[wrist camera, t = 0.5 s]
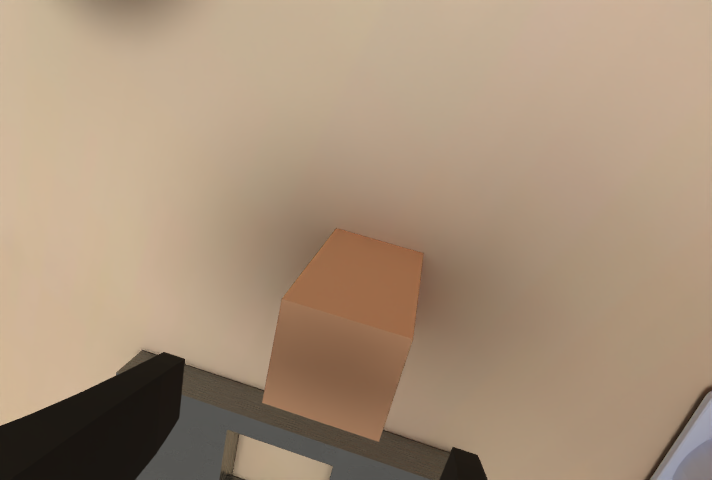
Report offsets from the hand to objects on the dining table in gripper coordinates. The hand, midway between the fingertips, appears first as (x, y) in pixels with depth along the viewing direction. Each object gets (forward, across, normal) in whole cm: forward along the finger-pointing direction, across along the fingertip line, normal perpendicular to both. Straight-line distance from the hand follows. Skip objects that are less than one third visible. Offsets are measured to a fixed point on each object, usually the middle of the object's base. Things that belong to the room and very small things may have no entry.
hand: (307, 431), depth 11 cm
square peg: (+9, 0, 0) cm, 9 cm away
